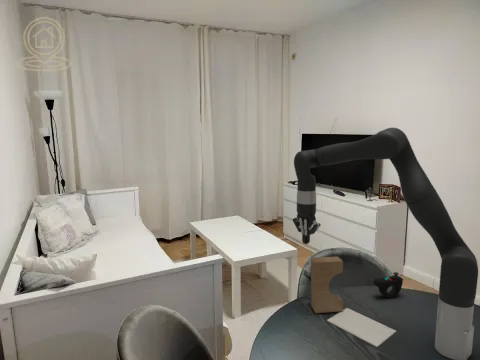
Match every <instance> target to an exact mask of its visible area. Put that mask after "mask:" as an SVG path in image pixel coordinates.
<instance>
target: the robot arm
mask: <svg viewBox="0 0 480 360" xmlns="http://www.w3.org/2000/svg"><path fill="white" fill-rule="evenodd" d="M357 160H358V161H359V160H389V161H390V162H391V164H392V165H393V167H394V169H395V171H396V173H397V177H398V179H399V185H400V190H401V194H402V198H403V199H404V202H405V203H406V206H407V207H408V209H409V211H410V213H411V215H412V216H413V218H414V219H415V220H416V222H418V224H419V225H420V226H421V227H422V229H424V231H426V232H427V234H429V236H430V238H431V239H432V241H433V242H434V245H435V247H436V249H437V251H438V253H439V255H440V258H441V263H440V273H439V286H438V298H437V299H438V300H437V314H436V324H435V325H436V327H435V336H434V337H435V339H434V349H435V350H436V351H437V352H438V353H439V354H440V355H441V356H443V357H446V358H448V359H451V360H468V359H469V357H471V355H472V354H473V352H472V351H473V344H474V332H475V331H474V330H475V325H473V318H474V309H475V301H476V297H477V296H476V295H477V288H478V279H479V266H478V260H477V257H476V255H475V253H474V252H473V251H472V250H471V248H470V247H469V245H467V243H466V242H465V240H464V239H463V237H462V236H461V235H460V233H459V232H458V230H457V229H456V227H455V226H454V223H453V221H452V219H451V216H450V214H449V212H448V209H447V208H446V206H445V204H444V203H443V200H442V198H441V196H440V195H439V194H438V192H437V190H436V189H435V187H434V185H433V184H432V181H431V180H430V179H429V177H428V175H427V174H426V172H425V170H424V169H423V167H422V166H421V164H420V162H419V160H418V159H417V156H416V154H415V151H414V150H413V148H412V145H411V142H410V140H409V138H408V136H407V135H406V133H405V132H404V131H403V130H401V129H399V128H397V127H388V128H385V129H383V130H380V131H378V132H377V133H375V134H373V135H370V136H368V137H366V138H363V139H359V140H356V141H352V142H351V141H350V142H340V143H333V144H330V145H325V146H321V147H319V148H314V149H308V150H300V151H298V152H297V153H296V154H295V156H294V157H293V167H294V171H295V175H296V179H297V186H296V187H297V188H296V189H297V191H296V213H297V214H296V217H294V218H292V221H293V224H294V226H295V228H296V229H297V231H298V233H301V242H302V244H303V245H309V243H310V242H311V236H312V235H314V234H316V232H317V231H318V229H319V228H320V227H321V225H322V224H321V223H319V222H317V217H316V213H317V190H316V188H317V182H316V176H315V175H313V174H312V173H311V169H314V168H319V167H322V166H331V165H337V164H342V163H347V162H352V161H357Z"/></svg>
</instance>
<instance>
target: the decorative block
mask: <svg viewBox="0 0 480 360" xmlns="http://www.w3.org/2000/svg"><path fill="white" fill-rule="evenodd" d="M342 273H344V261H343V259H341V258H340V257H339V256H322V257H321V256H320V257H311V258H310V280H311V282H310V283H311V284H310V289H311V294H310V295H311V304H310V305H311V308H312V309H313V311H314V314H325V313H326V314H327V313H340V312H342V311H343V310H344V299H343V298H342V297H341V296H340V295H339V294H338V293H334V292H332V291H330V288H329V287H330V286H329V285H330V282H331V280H333V278H334V277H335V276H337V275H339V274H342Z"/></svg>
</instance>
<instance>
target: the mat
mask: <svg viewBox="0 0 480 360" xmlns="http://www.w3.org/2000/svg"><path fill="white" fill-rule="evenodd" d="M326 321H327V322H328V323H331V324H332V325H334V326H336V327H338V328H340V329H342V330H344V331H345V332H347V333H349V334H351V335H353V336H355V337H357V338H359V339H360V340H362V341H364V342H365V343H368V344H370V345H371V346H373V347H376V348H378V347H379V346H380V345H382V344H383V343H384V342H386V341H387V340H389V338H391V337H392V336H393V335H394V334H395V333H397V330H395V329H394V328H391V327H389V326H387V325H384V324H383V323H380V322H378V321H376V320H375V319H372V318H369V317H368V316H365V315H363V314H362V313H358V312H357V311H355V310H352V309H350V308H348V307H345V308H344V309H343V311H342V312H337V313H336V314H335V315H333V316H331V317H330V318H328V319H327V320H326Z"/></svg>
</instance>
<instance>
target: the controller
mask: <svg viewBox="0 0 480 360" xmlns="http://www.w3.org/2000/svg"><path fill="white" fill-rule="evenodd" d="M399 275H400V273H399V272H396V271H394V272H393V275H391V276H386V277H379V278H375V279H374V280H373V282H372V283H373V285H374V286H376V287H378V288H377V289H378V291H379V293H380V294H381V295H382V296H384V297H386V298H388V299H389V298H391V299H392V298H395V297H397V296H398V295H399V294H400V292H401V290H402V287H403V283H404V282H403V281H404V279H403V277H401V276H399ZM390 287H391V290H390V291H388V289H389V288H390Z"/></svg>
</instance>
